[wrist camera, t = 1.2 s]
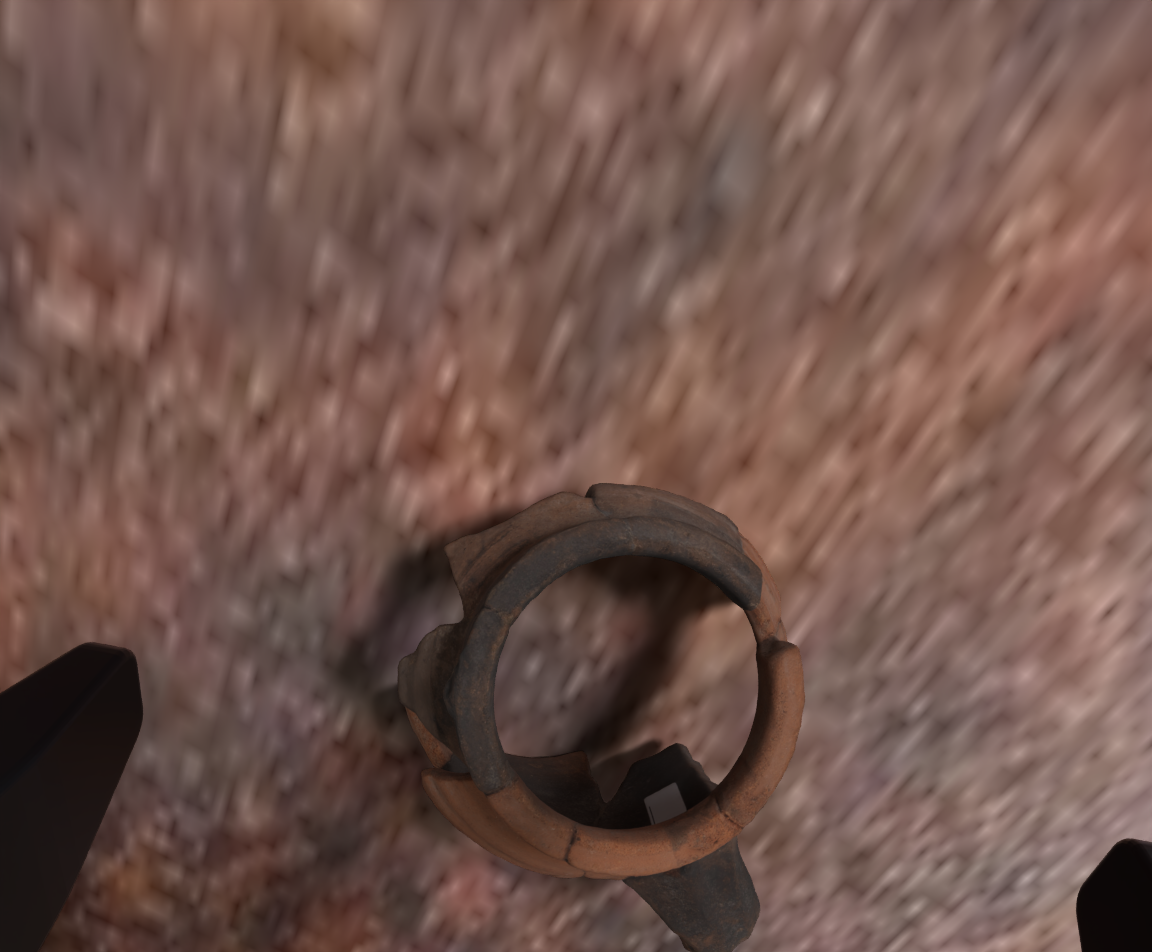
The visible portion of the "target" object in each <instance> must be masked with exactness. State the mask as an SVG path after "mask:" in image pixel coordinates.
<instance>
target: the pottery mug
mask: <svg viewBox="0 0 1152 952" xmlns="http://www.w3.org/2000/svg"><path fill="white" fill-rule="evenodd" d="M444 552H445V554H446V555H447V557H448V558H449V563H450V567H451V570H452V574H453V578H454V581H455V583H456V585H457V588H458V590H459V593H460V596H461V599H462V604H463V610H464V618H463V619H462V621H461V622H459V623H455V624H444V625H440V626H438V627H437V628H436V629H435V630H433V631H432V632H430V633H428V634H427V635H426V636H425V637H424V638H423V639H422V640H421V642H420V643H419V645H418V647H417V649H416V651H415V652H414V653H412V654H410V655H408V656H406V657H404V658H403V659H402V660H401V661H400V662H399V665H398V697H399V701H400V703H401V704H403V705H404V706H405V708H406V712H407V715H408V719H409V722H410V724H411V727H412V729H413V731H414V732H415V734H416V735H417V737H418V739H419V741H420V743H421V745H422V747H423V748H424V750H425V752H426V754H427V756H428V758H429V760H430V761H431V763H432V764H433V766H434V767H435V768H428V769H424V770H422V772H421V777H422V784H423V788H424V790H425V792H426V793H427V795H428V796H429V797H430V799H431V800H432V802H433V803H434V805H435V806H436V807H437V808H438V810H439V811H440V812H441V814H442V815H444V816H445V817H446V818H447V819H448V820H449V821H450V822H451V823H452V824H453V825H454V826H455V827H456V828H457V829H458V830H459V831H461V832H462V833H463V834H465V835H466V836H467V837H469V838H470V839H471V840H473V841H474V842H476V843H477V844H478V845H480V846H481V847H483V848H484V849H486V850H487V851H489V852H491V853H492V854H494V855H496V856H498V857H500V858H502V859H504V860H506V861H508V862H510V863H512V864H514V865H517V866H519V867H522V868H525V869H527V870H530V871H534V872H538V873H541V874H548V875H551V876H553V877H556V878H575V877H576V878H577V877H582V876H585V877H587V878H591V879H611V880H622V881H623V882H624V883H625V884H627V885H628V886H629V887H631V888H632V889H634V890H635V891H636V892H637V893H638V894H639V895H640V896H641V897H642V898H643V899H644V900H645V901H646V902H647V903H648V904H649V905H650V906H651V907H652V908H653V910H654V911H655V912H656V913H657V914H658V915H659V916H660V917H661V919H662V920H663V921H664V922H665V923H666V924H667V926H668V927H669V928H670V929H671V930H672V931H673V932H674V933H676V934H677V935H679V937H680V939H681V941H682V944H683V946H684V948H685V949H686V950H688V951H690V952H732V951H733V949H734V948H735V947H736V946H737V945H738V944H740V943H741V942H743V941H745V940H747V939H748V938H749V937H750V935H751V933H752V931H753V928H754V926H755V924H756V921H757V919H758V917H759V913H760V903H759V899H758V896H757V894H756V892H755V889H754V885H753V882H752V879H751V877H750V875H749V873H748V870H747V868H746V866H745V864H744V862H743V860H742V857H741V855H740V852H739V848H738V844H737V835H739V834H740V832H741V831H742V830H743V828H744V827H745V826H746V825H747V824H749V823H750V822H751V821H752V820H753V818H754V817H755V815H756V814H757V813H758V812H759V811H760V810H761V809H762V808H763V807H764V805H765V804H766V802H767V800H768V798H769V797H770V795H771V794H772V793H773V792H774V790H775V788H776V787H777V785H778V783H779V781H780V780H781V779H782V777H783V774H784V772H785V771H786V769H787V767H788V764H789V762H790V760H791V758H792V756H793V753H794V751H795V745H796V741H797V738H798V733H799V730H800V727H801V721H802V712H803V708H804V703H805V693H804V680H803V669H802V661H801V656H800V651H799V648H798V647H797V646H796V645H794V644H792V643H789V642H787V638H786V632H785V628H784V625H783V623H782V621H781V618H780V616H781V607H780V601H781V598H780V595H779V592H778V589H777V586H776V584H775V582H774V580H773V578H772V576H771V574H770V572H769V570H768V568H767V566H766V565H765V563H764V562H763V560H762V558H761V557H760V555H759V554H758V552H757V551H756V550H755V548H754V547H753V546H752V544H751V543H750V542H749V541H748V540H747V539H746V538H744V537H743V536H742V535H741V533H739V531H738V528H737V526H736V525H735V524H734V523H733V522H732V521H731V520H730V519H729V518H728V517H727V516H725V515H724V514H721V513H719V512H717V511H715V510H714V509H711V508H709V507H707V506H705V505H703V504H701V503H698V502H695V501H693V500H690V499H688V498H685V497H683V496H680V495H676V494H673V493H670V492H667V491H663V490H659V489H653V488H649V487H645V486H636V485H623V484H612V483H599V484H595V485H592V486H591V487H590V488H589V490H588V491H587V493H586V496H585V497H582V496H578V495H576V494H573V493H570V492H560V493H557V494H554V495H553V496H550V497H547V498H546V499H543V500H541V501H539V502H537V503H535V504H533V505H532V506H530V507H529V508H528V509H526V510H524V511H522V512H520V513H518V514H516V515H515V516H514V517H512V518H511V519H509V520H507V521H505V522H503V523H500V524H498V525H496V526H493V527H491V528H489V529H486V530H483V531H482V532H480V533H477V534H473V535H467V536H464V537H462V538H459V539H457V540H455V541H453V542H451V543H449V544H447V545H446V546H445V547H444ZM624 555H634V556H649V557H657V558H662V559H667V560H670V561H675V562H677V563H680V564H682V565H685V566H687V567H689V568H691V569H693V570H695V571H696V572H698V573H700V574H702V575H703V576H705V577H706V578H707V579H709V580H710V581H711V582H713V583H714V584H715V585H716V586H718V587H719V588H720V589H721V590H722V591H723V593H724V594H725V595H726V596H728V597H729V599H731V600H732V601H733V602H734V603H735V604H737V605H738V606H739V607H741V608H742V609H743V610H744V612H745V613H746V615H747V618H748V620H749V622H750V624H751V626H752V629H753V633H754V636H755V639H756V642H757V651H756V661H757V667H758V700H757V708H756V714H755V718H754V722H753V725H752V728H751V732H750V735H749V737H748V740H747V742H746V745H745V747H744V749H743V751H742V753H741V755H740V756H739V758H738V760H737V761H736V763H735V764H734V766H733V768H732V769H731V771H730V772H729V773H728V775H727V776H726V777H725V778H724V779H723V781H722V782H721V783H720V784H719V785H717V784H715V783H713V782H711V781H710V779H709V777H708V776H707V775H706V774H705V773H704V770H703V768H702V766H701V764H700V763H699V762H697V761H695V760H693V759H692V756H691V754H690V753H689V751H688V749H687V747H686V746H684V745H682V744H679V743H675V744H673V745H671V746H669V747H667V748H666V749H664V750H662V751H661V752H659V753H657V754H655V755H653V756H651V757H648V758H645V759H642V760H639V761H637V762H635V763H634V764H633V765H632V766H631V767H630V769H629V772H628V774H627V776H626V778H625V779H624V781H623V782H622V784H621V786H620V787H619V789H618V792H617V793H616V795H615V796H614V798H613V799H612V800H611V801H609V802H608V803H605V802H604V801H603V800H602V798H601V794H600V790H599V787H598V784H597V783H596V781H595V779H594V778H593V777H592V776H591V771H590V766H589V762H588V759H587V755H586V754H585V753H584V752H583V751H577V752H573V753H569V754H565V755H561V756H557V757H545V758H525V757H520V756H514V755H510V754H506V753H504V751H503V748H502V745H501V742H500V739H499V736H498V732H497V728H496V723H495V717H494V686H495V677H496V672H497V666H498V661H499V658H500V655H501V652H502V649H503V646H504V644H505V641H506V639H507V636H508V633H509V628H510V627H511V625H512V624H513V623H514V622H515V621H516V619H517V618H518V616H519V615H520V613H521V612H522V611H523V610H524V608H525V607H526V606H527V605H528V604H529V603H530V601H532V600H533V599H534V598H536V597H537V596H538V595H539V594H540V593H541V592H542V591H543V589H545V588H546V587H547V586H548V585H549V584H551V583H552V582H553V581H554V580H556V579H557V578H559V577H561V576H562V575H563V574H565V573H566V572H568V571H570V570H572V569H574V568H576V567H578V566H581V565H583V564H587V563H590V562H593V561H596V560H599V559H603V558H609V557H615V556H624Z"/></svg>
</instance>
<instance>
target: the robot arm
mask: <svg viewBox="0 0 1152 952" xmlns="http://www.w3.org/2000/svg"><path fill="white" fill-rule="evenodd" d="M142 720H143V705H142V698H141V690H140V682H139V674H138V667H137V661H136V657H135V655H134V654H133V652H132V651H131V650H129V649H126V648H122V647H117V646H111V645H106V644H101V643H95V642H88V643H84V644H81V645H79V646H77V647H75V648H73V649H72V650H70V651H68V652H67V653H65V654H63V655H62V656H60V657H59V658H57V659H55V660H54V661H52V662H50V663H49V664H47V665H46V666H44V667H42V668H41V669H39V670H37V671H36V672H34V673H32V674H31V675H29V676H28V677H26V678H24V679H23V680H21V681H19V682H18V683H16V684H15V685H13V686H11V687H10V688H8V689H6V690H5V691H3V692H2V693H0V952H38V951H39V950H40V948H41V946H42V944H43V943H44V941H45V939H46V937H47V935H48V934H49V932H50V930H51V928H52V927H53V925H54V923H55V921H56V919H57V917H58V915H59V913H60V912H61V910H62V908H63V906H64V904H65V902H66V900H67V898H68V897H69V894H70V892H71V890H72V888H73V886H74V883H75V881H76V879H77V877H78V875H79V872H80V870H81V868H82V866H83V863H84V861H85V859H86V856H87V854H88V852H89V849H90V847H91V845H92V842H93V840H94V838H95V835H96V833H97V831H98V829H99V826H100V824H101V822H102V819H103V817H104V815H105V812H106V810H107V808H108V805H109V803H110V801H111V798H112V796H113V794H114V791H115V789H116V787H117V784H118V782H119V780H120V777H121V775H122V773H123V770H124V768H125V766H126V763H127V761H128V759H129V757H130V754H131V752H132V750H133V747H134V745H135V743H136V740H137V738H138V735H139V732H140V729H141V725H142ZM1076 914H1077V922H1078V929H1079V935H1080V942H1081V949H1082V952H1152V842H1148V841H1142V840H1137V839H1123V840H1121V841H1119V842H1117V843H1116V844H1115V845H1114V846H1113V847H1112V849H1111V850H1110V851H1109V852H1108V853H1107V855H1106V856H1105V857H1104V858H1103V860H1102V861H1101V862H1100V863H1099V865H1098V866H1097V867H1096V868H1095V870H1094V871H1093V872H1092V873H1091V874H1090V876H1089V877H1088V878H1087V879H1086V881H1085V882H1084V883H1083V885H1082V886H1081V888H1080V891H1079V893H1078V897H1077V903H1076Z"/></svg>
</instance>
